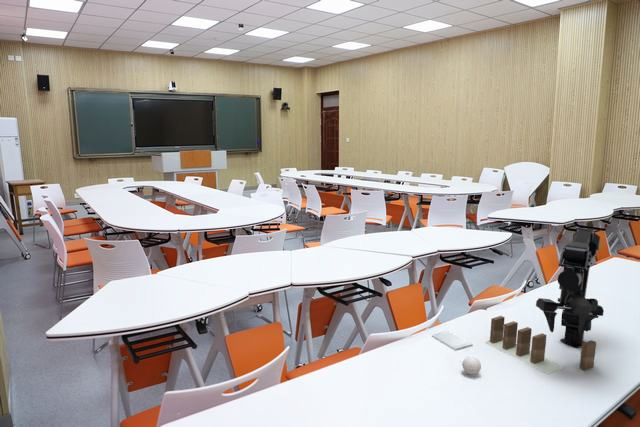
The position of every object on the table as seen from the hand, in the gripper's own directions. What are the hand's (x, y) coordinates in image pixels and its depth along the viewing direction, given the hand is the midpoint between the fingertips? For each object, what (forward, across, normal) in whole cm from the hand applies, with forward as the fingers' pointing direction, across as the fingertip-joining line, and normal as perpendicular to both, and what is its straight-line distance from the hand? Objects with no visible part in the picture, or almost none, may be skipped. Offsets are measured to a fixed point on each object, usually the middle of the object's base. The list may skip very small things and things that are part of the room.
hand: (566, 333), depth 143 cm
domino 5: (+11, +8, +1) cm, 14 cm away
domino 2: (+11, -11, +15) cm, 21 cm away
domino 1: (+11, -14, +19) cm, 26 cm away
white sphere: (+15, -30, -2) cm, 34 cm away
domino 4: (+12, -5, +5) cm, 14 cm away
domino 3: (+11, -8, +10) cm, 17 cm away
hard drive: (+13, -30, +20) cm, 38 cm away
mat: (+12, -8, +10) cm, 17 cm away
